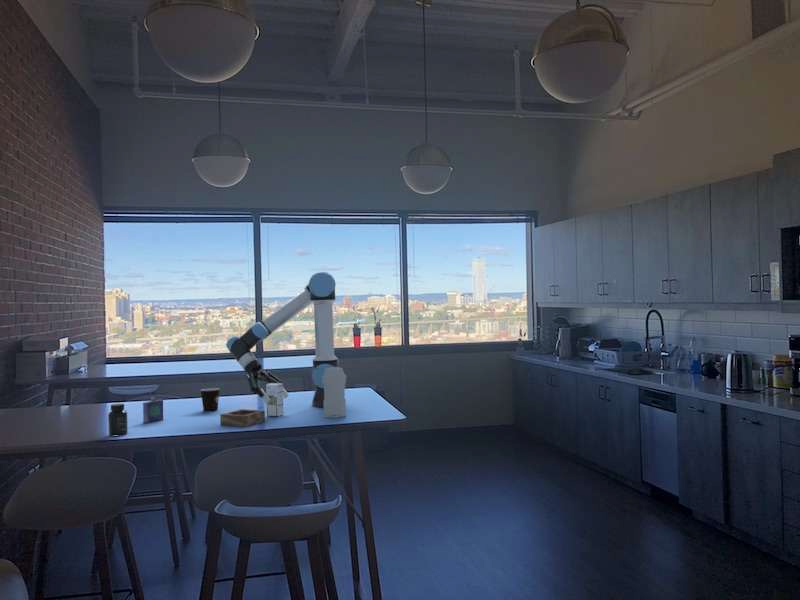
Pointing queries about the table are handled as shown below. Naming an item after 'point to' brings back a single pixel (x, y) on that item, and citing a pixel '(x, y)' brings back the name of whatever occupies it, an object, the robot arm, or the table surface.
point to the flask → (153, 410)
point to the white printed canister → (275, 399)
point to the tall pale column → (334, 393)
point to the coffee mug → (210, 399)
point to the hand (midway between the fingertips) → (277, 399)
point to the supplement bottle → (117, 420)
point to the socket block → (242, 417)
